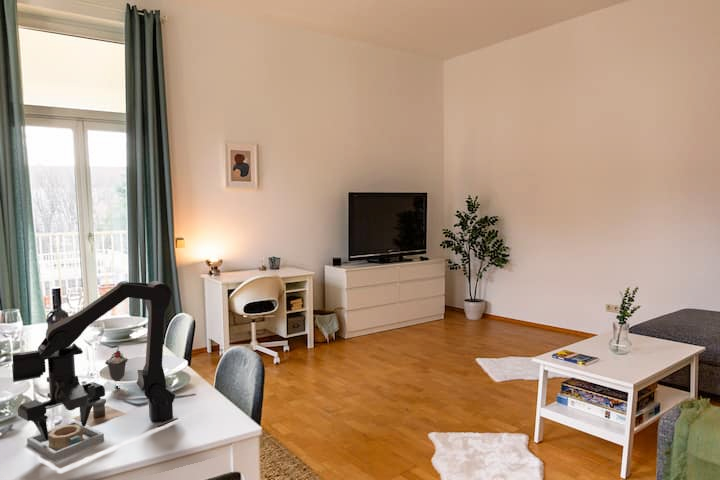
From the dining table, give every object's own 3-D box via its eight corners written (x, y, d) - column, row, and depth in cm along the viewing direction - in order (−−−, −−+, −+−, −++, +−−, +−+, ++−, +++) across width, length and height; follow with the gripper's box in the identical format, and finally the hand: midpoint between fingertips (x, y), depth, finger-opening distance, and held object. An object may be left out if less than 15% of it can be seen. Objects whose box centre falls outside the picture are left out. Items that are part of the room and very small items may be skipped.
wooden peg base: (126, 416, 144) (125, 399, 144) (91, 430, 136) (90, 411, 135) (107, 409, 150) (106, 391, 149) (72, 421, 141) (71, 403, 141)
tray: (104, 443, 129) (103, 433, 128) (54, 463, 119) (54, 453, 119) (76, 429, 136) (75, 420, 136) (27, 447, 126) (27, 438, 126)
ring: (73, 433, 132) (72, 422, 132) (90, 442, 128) (89, 430, 127) (44, 444, 127) (44, 432, 126) (61, 453, 122) (60, 441, 122)
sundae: (120, 395, 160) (118, 349, 159) (102, 393, 162) (100, 348, 160) (133, 387, 167) (131, 343, 165) (116, 386, 168) (114, 342, 167)
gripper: (36, 391, 114) (40, 457, 115) (115, 368, 129) (118, 426, 131) (14, 382, 120) (18, 444, 121) (92, 360, 135) (95, 416, 137)
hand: (65, 432), depth 127 cm, fingers open, 9 cm apart
